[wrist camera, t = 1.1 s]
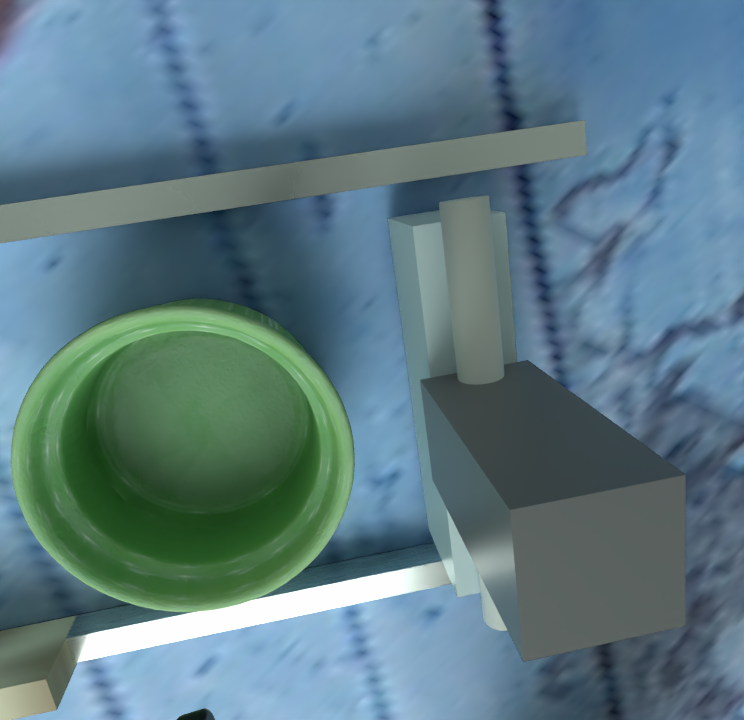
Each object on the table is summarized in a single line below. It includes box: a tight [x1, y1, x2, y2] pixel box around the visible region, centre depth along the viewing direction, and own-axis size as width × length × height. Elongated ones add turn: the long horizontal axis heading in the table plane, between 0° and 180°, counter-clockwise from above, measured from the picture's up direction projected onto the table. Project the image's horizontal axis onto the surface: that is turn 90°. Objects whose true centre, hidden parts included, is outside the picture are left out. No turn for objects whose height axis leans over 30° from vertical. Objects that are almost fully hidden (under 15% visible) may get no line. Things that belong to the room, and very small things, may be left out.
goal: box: [0, 120, 587, 720], centre depth 18 cm, size 31×15×5 cm, turn 98°
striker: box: [387, 196, 686, 662], centre depth 16 cm, size 3×12×11 cm, turn 8°
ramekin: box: [11, 299, 355, 612], centre depth 19 cm, size 9×9×4 cm
